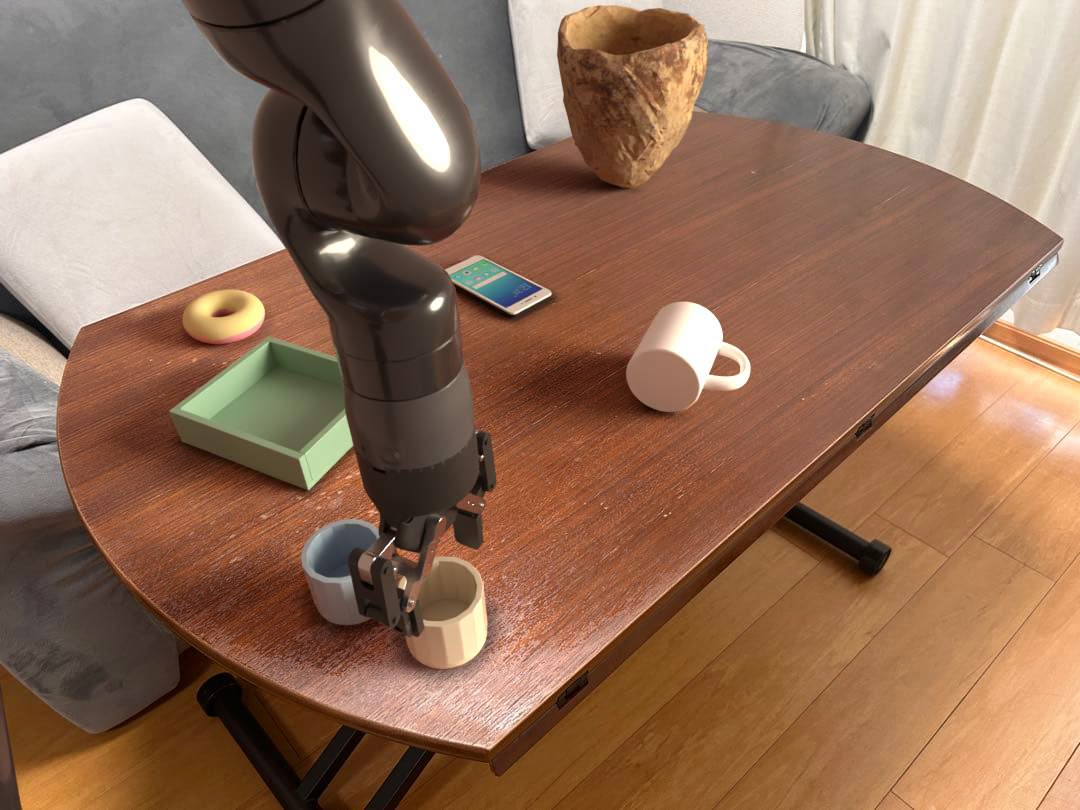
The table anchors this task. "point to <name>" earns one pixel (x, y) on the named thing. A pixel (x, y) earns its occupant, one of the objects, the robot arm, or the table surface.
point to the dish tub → (271, 413)
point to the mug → (681, 359)
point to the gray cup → (336, 568)
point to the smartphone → (497, 286)
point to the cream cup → (450, 614)
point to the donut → (214, 329)
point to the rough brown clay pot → (629, 86)
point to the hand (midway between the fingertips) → (441, 584)
